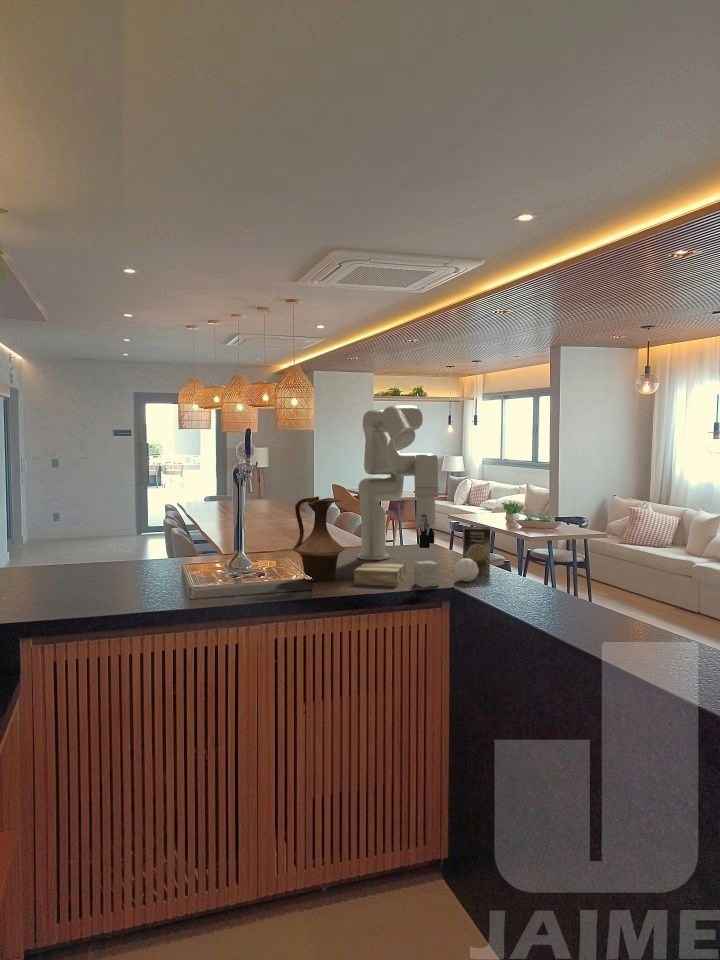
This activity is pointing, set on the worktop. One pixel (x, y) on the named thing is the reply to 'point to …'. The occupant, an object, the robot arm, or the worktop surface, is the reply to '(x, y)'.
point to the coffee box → (477, 547)
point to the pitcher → (318, 542)
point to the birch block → (379, 574)
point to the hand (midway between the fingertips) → (427, 545)
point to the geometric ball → (466, 570)
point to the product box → (426, 573)
